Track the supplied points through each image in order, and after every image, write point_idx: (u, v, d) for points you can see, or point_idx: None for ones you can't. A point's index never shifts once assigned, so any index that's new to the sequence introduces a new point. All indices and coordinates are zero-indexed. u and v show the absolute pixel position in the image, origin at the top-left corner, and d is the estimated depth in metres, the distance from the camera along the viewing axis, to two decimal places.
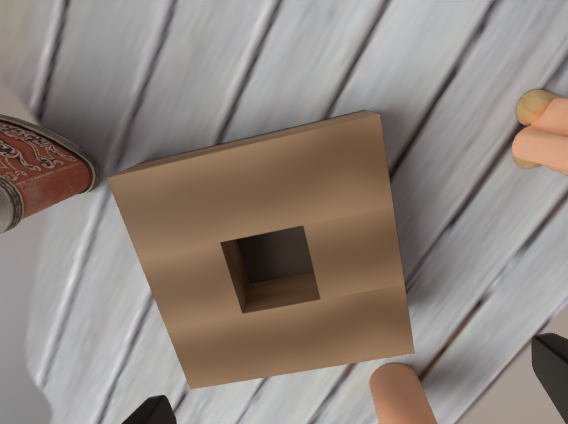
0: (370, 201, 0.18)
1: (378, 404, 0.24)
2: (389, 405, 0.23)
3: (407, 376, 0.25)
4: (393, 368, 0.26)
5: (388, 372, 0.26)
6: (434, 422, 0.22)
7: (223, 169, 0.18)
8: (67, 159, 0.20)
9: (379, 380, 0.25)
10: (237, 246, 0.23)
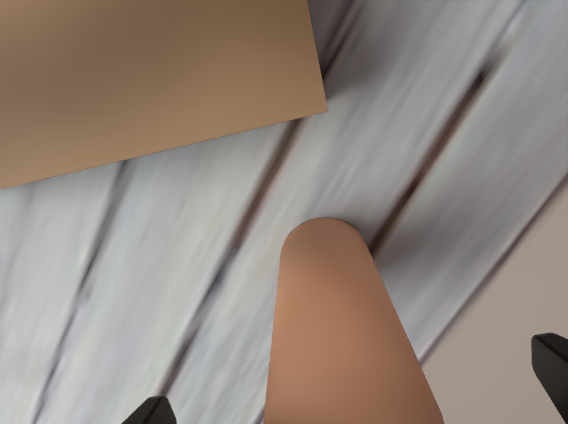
0: None
1: (279, 277, 0.12)
2: (293, 267, 0.11)
3: (341, 231, 0.13)
4: (317, 223, 0.14)
5: (307, 228, 0.13)
6: (380, 289, 0.10)
7: None
8: None
9: (289, 242, 0.13)
10: None
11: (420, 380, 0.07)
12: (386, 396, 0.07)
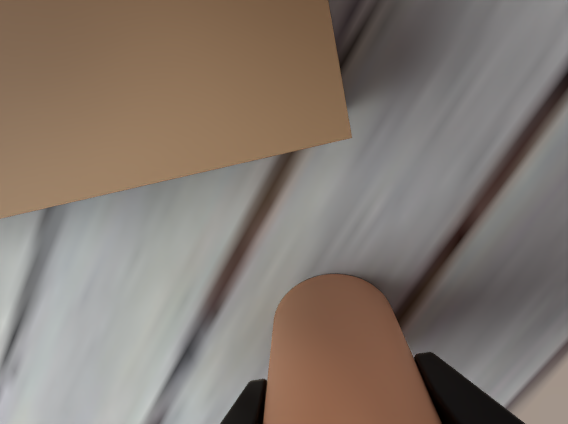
0: None
1: (269, 376, 0.08)
2: (290, 375, 0.07)
3: (360, 300, 0.09)
4: (325, 285, 0.10)
5: (311, 293, 0.09)
6: None
7: None
8: None
9: (285, 314, 0.09)
10: None
11: None
12: None
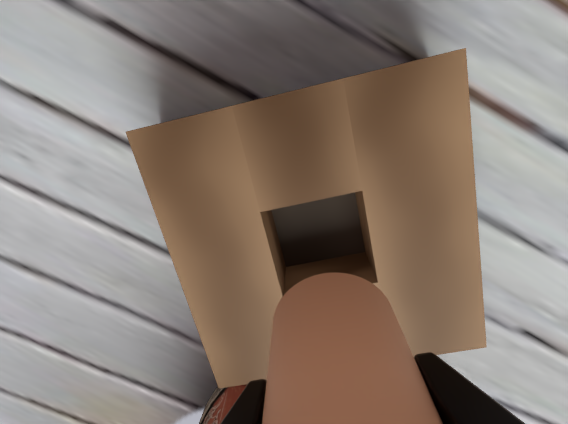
0: (226, 134, 0.15)
1: (268, 375, 0.08)
2: (289, 374, 0.07)
3: (359, 299, 0.09)
4: (325, 283, 0.09)
5: (310, 292, 0.09)
6: None
7: (201, 290, 0.17)
8: (221, 402, 0.22)
9: (285, 313, 0.09)
10: (314, 263, 0.20)
11: None
12: None
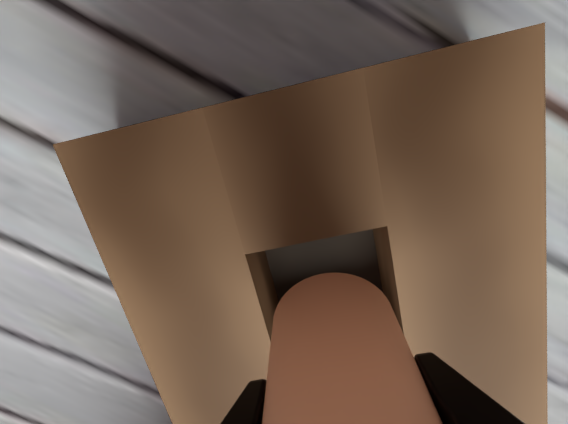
0: (196, 148, 0.11)
1: (268, 375, 0.08)
2: (289, 374, 0.07)
3: (359, 298, 0.09)
4: (325, 283, 0.09)
5: (310, 292, 0.09)
6: None
7: (167, 355, 0.13)
8: None
9: (285, 313, 0.09)
10: None
11: None
12: None
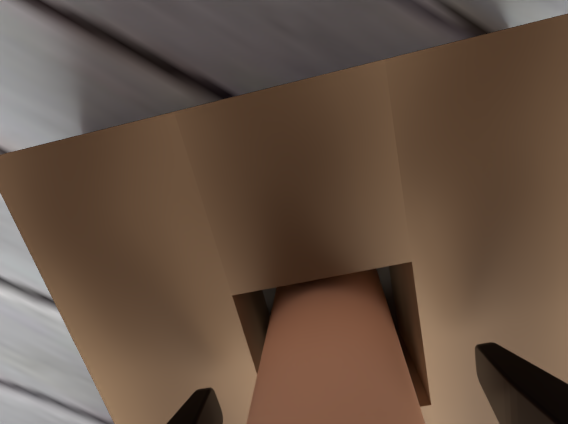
0: (167, 164, 0.08)
1: (271, 313, 0.10)
2: (285, 306, 0.09)
3: None
4: None
5: None
6: (389, 342, 0.08)
7: (138, 413, 0.11)
8: None
9: None
10: None
11: None
12: None
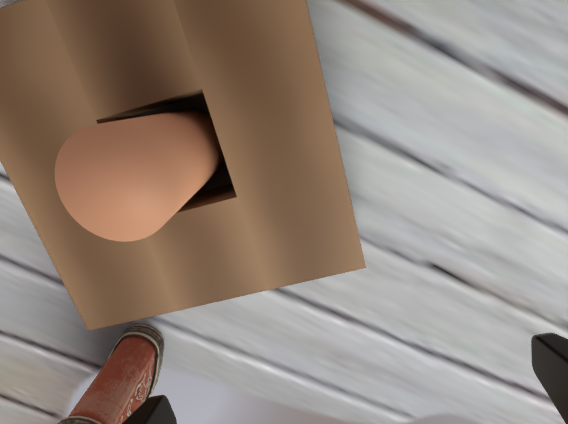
0: (44, 29, 0.14)
1: None
2: None
3: (189, 111, 0.16)
4: None
5: None
6: (184, 127, 0.13)
7: (49, 216, 0.16)
8: None
9: None
10: None
11: (151, 139, 0.10)
12: (127, 148, 0.10)
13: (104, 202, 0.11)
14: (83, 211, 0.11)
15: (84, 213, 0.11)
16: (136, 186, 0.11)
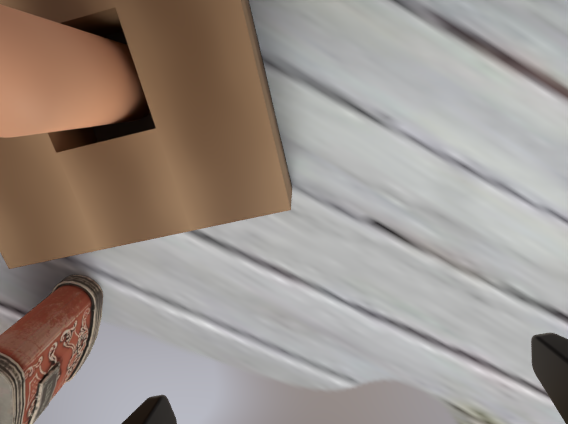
0: None
1: None
2: None
3: None
4: None
5: None
6: (92, 39, 0.13)
7: None
8: None
9: None
10: (125, 135, 0.18)
11: (29, 20, 0.10)
12: (1, 28, 0.10)
13: None
14: None
15: None
16: (14, 73, 0.10)
